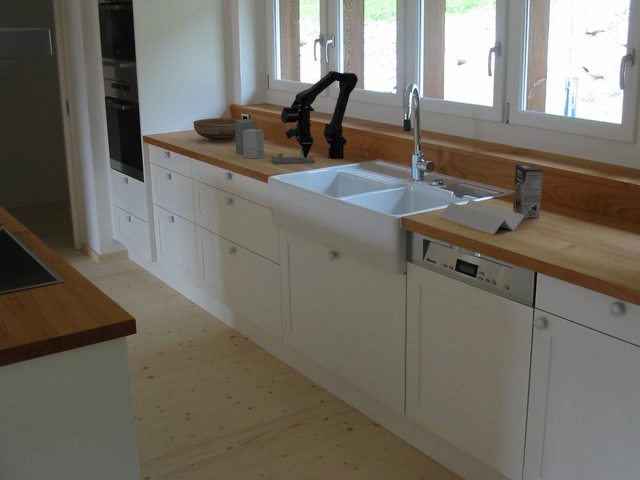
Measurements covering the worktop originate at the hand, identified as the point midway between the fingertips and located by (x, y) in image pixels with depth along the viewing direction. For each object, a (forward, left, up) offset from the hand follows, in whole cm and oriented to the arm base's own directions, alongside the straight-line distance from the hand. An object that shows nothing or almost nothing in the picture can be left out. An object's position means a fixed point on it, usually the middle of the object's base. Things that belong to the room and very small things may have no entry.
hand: (304, 156), depth 356 cm
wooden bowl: (+36, -67, -2) cm, 76 cm away
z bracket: (-43, +117, -3) cm, 125 cm away
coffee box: (-61, +109, -2) cm, 125 cm away
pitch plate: (+5, 0, -2) cm, 6 cm away
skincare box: (+25, -26, -2) cm, 36 cm away
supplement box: (+22, -14, -2) cm, 26 cm away
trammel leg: (0, 0, -1) cm, 1 cm away
